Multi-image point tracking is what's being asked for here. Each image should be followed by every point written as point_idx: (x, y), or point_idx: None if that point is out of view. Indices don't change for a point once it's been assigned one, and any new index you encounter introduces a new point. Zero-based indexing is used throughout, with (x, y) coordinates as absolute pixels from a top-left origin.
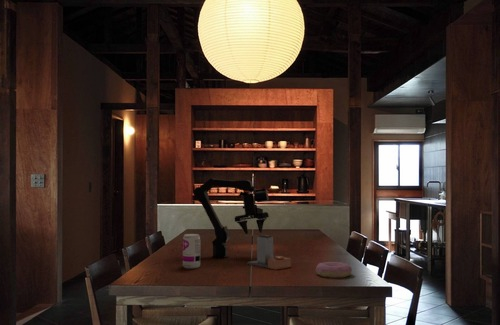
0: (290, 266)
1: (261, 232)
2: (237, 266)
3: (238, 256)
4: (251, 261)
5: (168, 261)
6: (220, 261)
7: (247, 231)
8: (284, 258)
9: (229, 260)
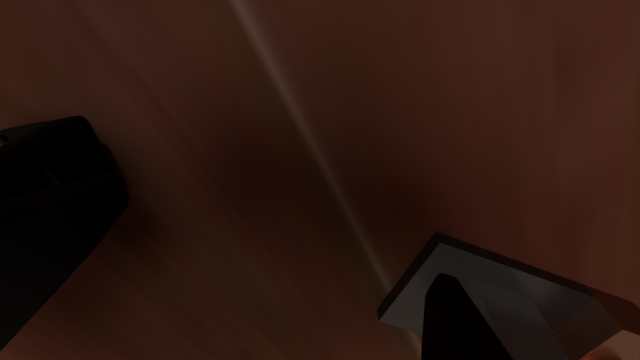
0: (633, 307)
1: (452, 279)
2: (353, 352)
3: (165, 91)
4: (395, 308)
5: (21, 347)
6: (204, 287)
7: (87, 199)
8: (629, 358)
9: (225, 251)
